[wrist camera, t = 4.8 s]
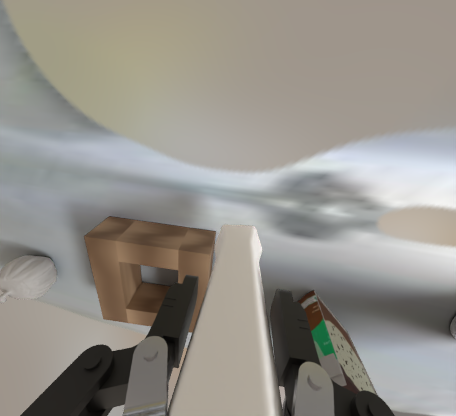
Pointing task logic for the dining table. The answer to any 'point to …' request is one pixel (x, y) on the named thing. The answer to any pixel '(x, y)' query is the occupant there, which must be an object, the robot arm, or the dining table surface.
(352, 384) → the food container
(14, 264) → the garlic
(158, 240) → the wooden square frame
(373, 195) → the dining table surface
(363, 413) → the robot arm
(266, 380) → the white faceted vase
